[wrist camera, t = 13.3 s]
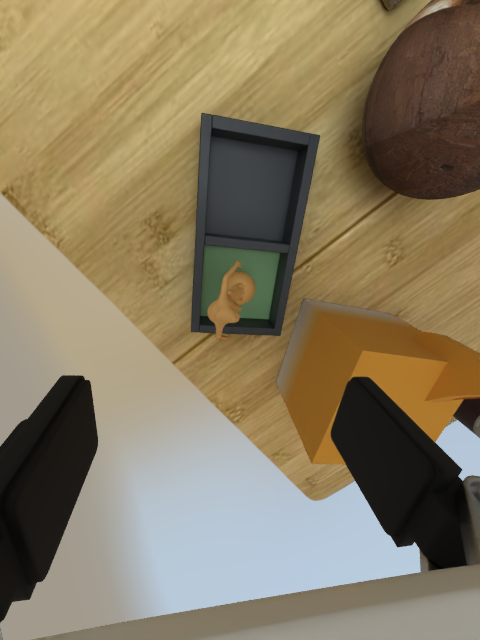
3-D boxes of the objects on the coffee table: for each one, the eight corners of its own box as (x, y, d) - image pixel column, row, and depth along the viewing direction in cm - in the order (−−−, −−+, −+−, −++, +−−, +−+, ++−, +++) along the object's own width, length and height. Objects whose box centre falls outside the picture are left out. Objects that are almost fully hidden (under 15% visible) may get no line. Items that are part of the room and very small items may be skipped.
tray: (191, 320, 35) (190, 332, 32) (201, 123, 26) (201, 112, 23) (273, 324, 37) (280, 335, 34) (306, 143, 28) (320, 135, 25)
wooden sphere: (458, 173, 32) (647, 150, 19) (346, 219, 32) (451, 229, 19) (461, 12, 26) (752, -203, 12) (321, 70, 26) (454, -77, 12)
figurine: (247, 314, 35) (268, 364, 24) (202, 311, 34) (203, 361, 23) (257, 252, 32) (287, 276, 21) (208, 246, 31) (213, 268, 20)
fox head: (381, 400, 46) (498, 525, 28) (273, 391, 42) (329, 532, 24) (429, 309, 40) (621, 395, 22) (307, 286, 35) (421, 370, 17)
